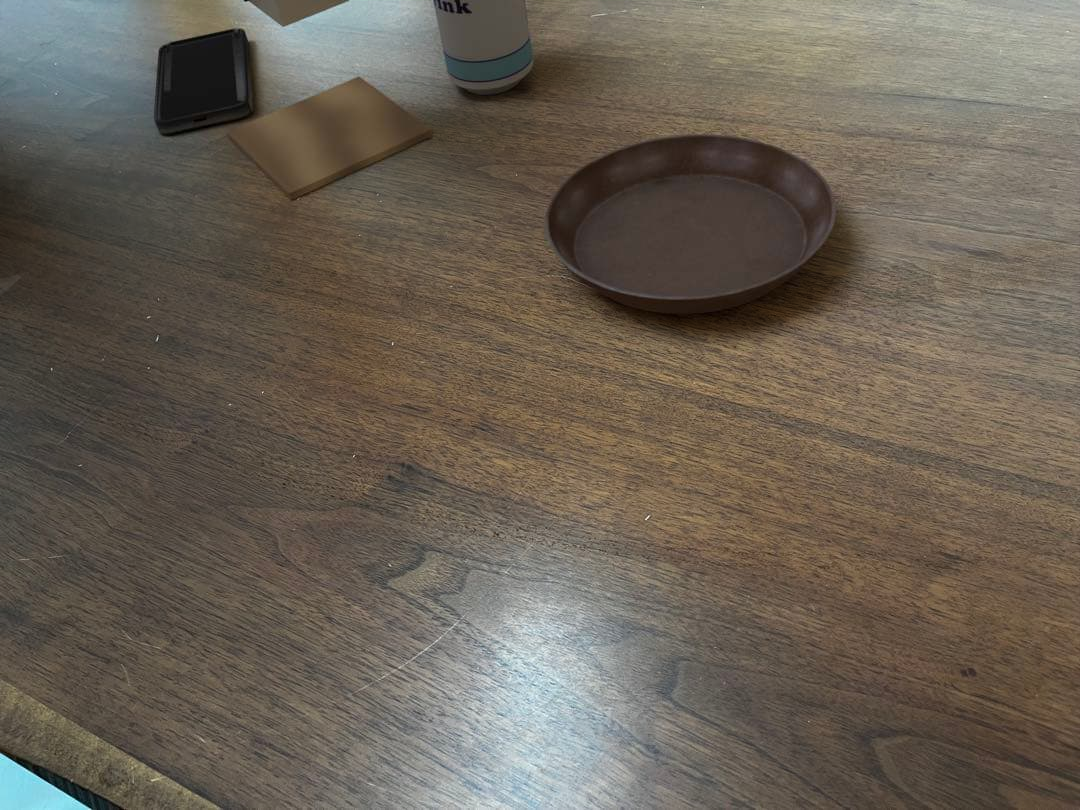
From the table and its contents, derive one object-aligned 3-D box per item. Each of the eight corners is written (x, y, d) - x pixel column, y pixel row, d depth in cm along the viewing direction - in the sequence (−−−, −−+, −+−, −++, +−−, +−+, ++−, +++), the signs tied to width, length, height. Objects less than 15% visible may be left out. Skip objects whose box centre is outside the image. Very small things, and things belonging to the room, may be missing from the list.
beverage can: (433, 83, 88) (402, -65, 80) (499, 50, 91) (475, -97, 83) (485, 110, 84) (458, -44, 76) (552, 74, 87) (533, -78, 79)
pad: (291, 200, 78) (289, 193, 78) (228, 138, 86) (226, 131, 86) (432, 136, 82) (431, 129, 82) (360, 82, 90) (359, 76, 90)
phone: (244, 26, 98) (249, 103, 87) (248, 37, 99) (253, 115, 88) (157, 44, 97) (151, 124, 87) (162, 56, 98) (156, 137, 87)
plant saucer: (605, 156, 77) (602, 118, 75) (858, 185, 71) (862, 144, 69) (506, 312, 66) (498, 272, 64) (795, 362, 60) (797, 320, 58)
